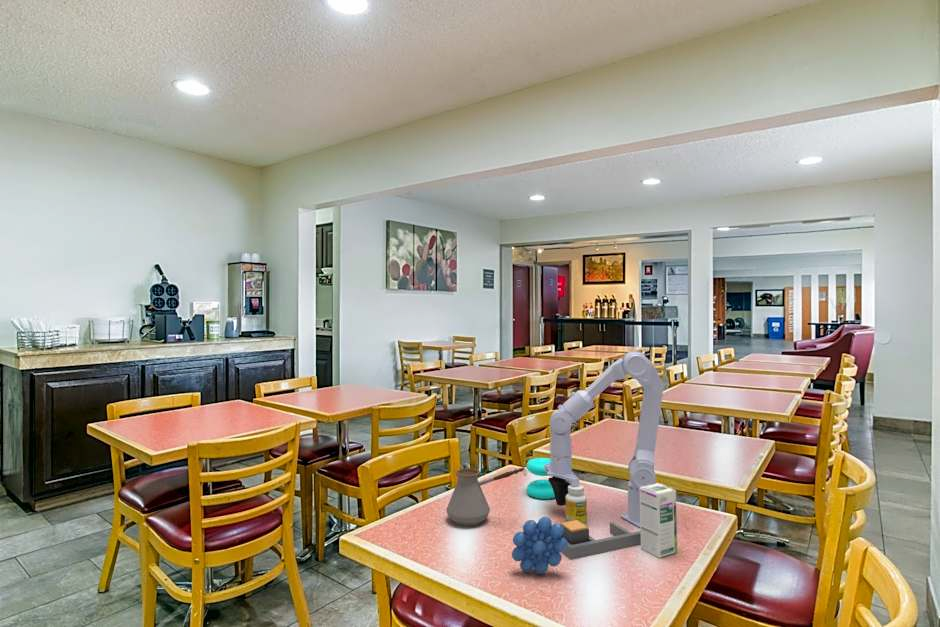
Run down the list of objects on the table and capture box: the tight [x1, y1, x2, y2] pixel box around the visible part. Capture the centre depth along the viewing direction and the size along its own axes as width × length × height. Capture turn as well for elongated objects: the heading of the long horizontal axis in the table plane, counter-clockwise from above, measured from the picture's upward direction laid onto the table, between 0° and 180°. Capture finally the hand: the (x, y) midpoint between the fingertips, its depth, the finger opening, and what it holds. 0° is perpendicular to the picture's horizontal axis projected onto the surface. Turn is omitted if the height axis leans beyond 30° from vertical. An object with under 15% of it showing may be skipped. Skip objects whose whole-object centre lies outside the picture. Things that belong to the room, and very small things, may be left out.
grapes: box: [511, 516, 568, 575], centre depth 110 cm, size 12×7×12 cm, turn 83°
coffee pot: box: [446, 467, 528, 527], centre depth 136 cm, size 21×12×15 cm, turn 74°
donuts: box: [526, 457, 555, 500], centre depth 156 cm, size 10×10×10 cm
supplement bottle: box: [565, 484, 588, 526], centre depth 135 cm, size 5×5×10 cm
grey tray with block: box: [560, 520, 641, 560], centre depth 123 cm, size 20×8×5 cm, turn 112°
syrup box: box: [639, 482, 678, 559], centre depth 119 cm, size 6×6×14 cm
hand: (561, 504), depth 141 cm, fingers closed
